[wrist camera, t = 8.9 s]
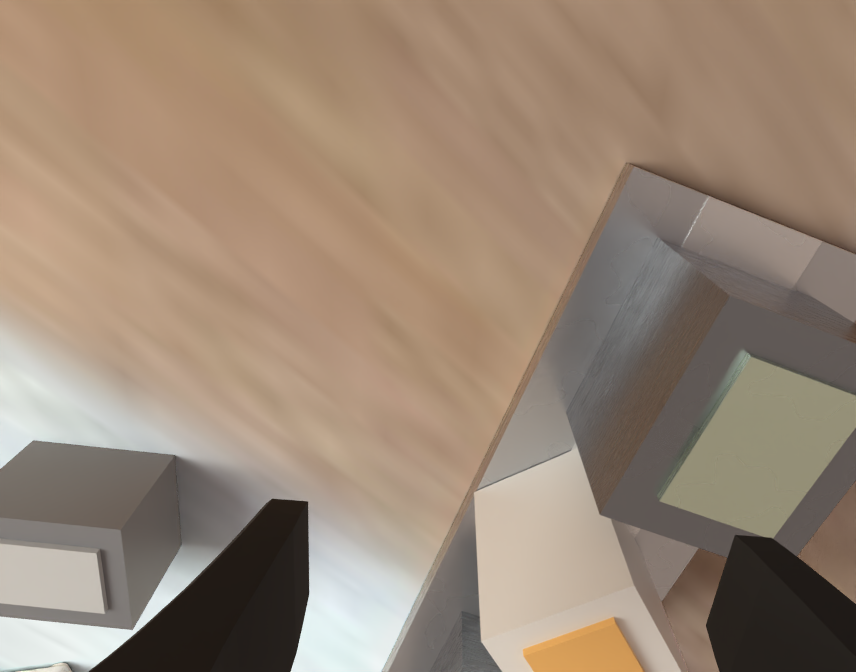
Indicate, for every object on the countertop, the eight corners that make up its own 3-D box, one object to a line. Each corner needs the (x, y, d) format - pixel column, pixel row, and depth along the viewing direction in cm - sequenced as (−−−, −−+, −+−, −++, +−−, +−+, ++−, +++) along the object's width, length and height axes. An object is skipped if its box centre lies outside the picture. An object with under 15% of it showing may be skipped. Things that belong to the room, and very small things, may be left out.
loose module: (584, 445, 20) (636, 591, 14) (642, 554, 22) (709, 725, 16) (473, 492, 21) (481, 648, 15) (537, 593, 23) (565, 769, 17)
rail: (873, 260, 18) (1054, 341, 13) (537, 759, 27) (558, 933, 22) (626, 162, 18) (705, 203, 12) (363, 708, 27) (340, 876, 21)
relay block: (176, 453, 22) (117, 534, 18) (182, 543, 24) (129, 635, 20) (34, 439, 22) (-55, 517, 18) (50, 529, 24) (-29, 618, 20)
